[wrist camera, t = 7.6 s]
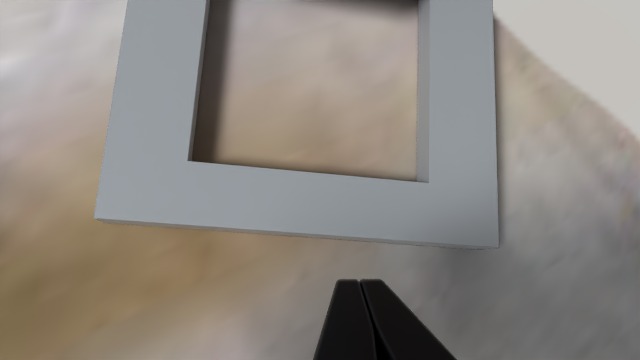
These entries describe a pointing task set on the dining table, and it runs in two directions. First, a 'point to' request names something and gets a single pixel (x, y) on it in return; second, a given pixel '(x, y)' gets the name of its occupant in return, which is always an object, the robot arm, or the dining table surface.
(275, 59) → the dining table surface
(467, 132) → the pocket board
